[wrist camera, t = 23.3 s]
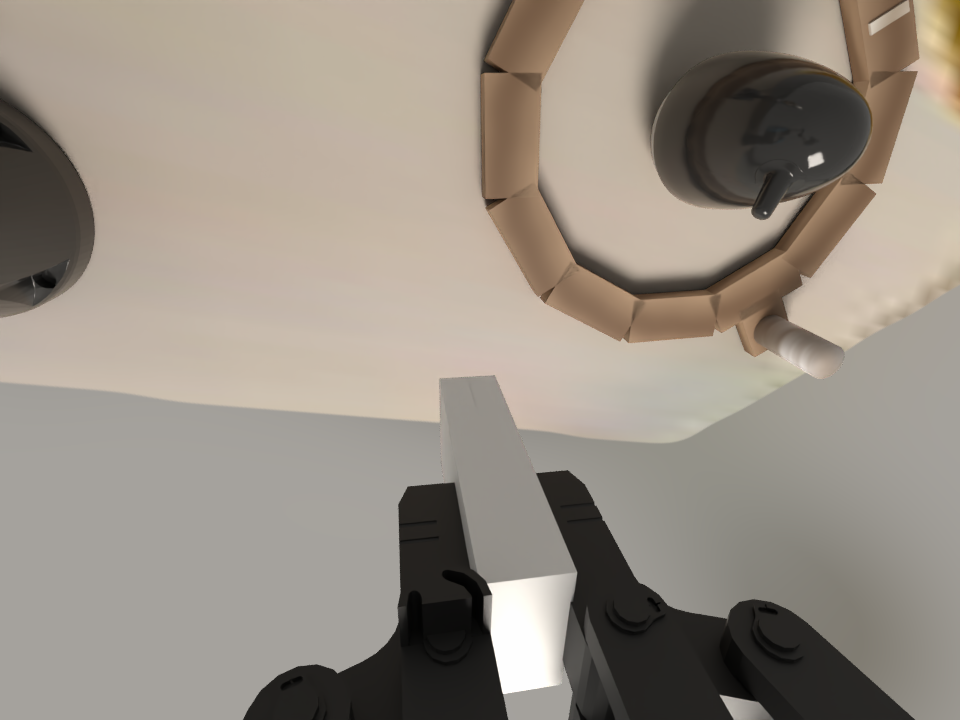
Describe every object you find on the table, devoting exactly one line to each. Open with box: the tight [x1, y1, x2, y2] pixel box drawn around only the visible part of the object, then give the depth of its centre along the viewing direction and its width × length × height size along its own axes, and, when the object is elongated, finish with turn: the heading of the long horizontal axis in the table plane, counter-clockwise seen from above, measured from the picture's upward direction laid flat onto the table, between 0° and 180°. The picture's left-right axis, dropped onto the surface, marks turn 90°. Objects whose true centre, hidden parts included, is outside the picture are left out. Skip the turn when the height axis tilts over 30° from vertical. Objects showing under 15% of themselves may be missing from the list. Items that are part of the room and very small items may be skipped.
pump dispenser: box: [651, 51, 873, 220], centre depth 33 cm, size 10×10×15 cm
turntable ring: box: [481, 0, 919, 379], centre depth 36 cm, size 34×38×8 cm
